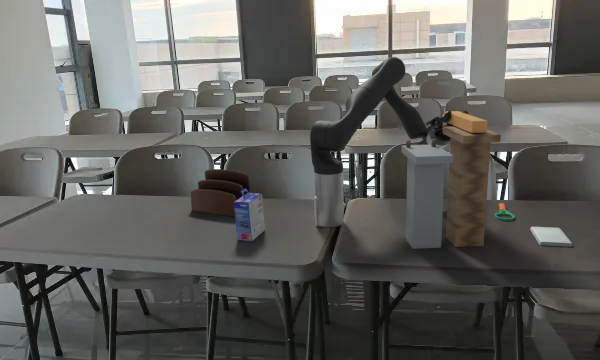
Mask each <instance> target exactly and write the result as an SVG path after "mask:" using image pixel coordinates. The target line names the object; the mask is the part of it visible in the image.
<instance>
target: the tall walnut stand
mask: <svg viewBox="0 0 600 360" xmlns="http://www.w3.org/2000/svg"><path fill="white" fill-rule="evenodd" d="M443 134H445V135H447V136H449V137H451V139H450V143H449V153H450V154H452V155H453V163H448V186H447V205H446V207H447V208H446V209H447V210H446V225H445V226H446V229H445V230H446V231H445V237H446V238H447V239H448V240H449V242H450V243H451V244H452V245H453V246H454V247H456V248H457V247H458V248H460V247H484V244H485V231H486V230H485V229H486V215H487V214H486V213H487V200H488V185H489V174H490V173H489V172H490V171H489V170H490V156H491V144H492V143H501V138H502V135H501V134H500V133H498V132H495V131H493V130H489V129H487V132H483V133H471V132H468V131H466V130H463V129H461V128H459V127H456V126H453V127H444V128H443Z"/></svg>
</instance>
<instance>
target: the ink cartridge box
mask: <svg viewBox="0 0 600 360" xmlns="http://www.w3.org/2000/svg"><path fill="white" fill-rule="evenodd" d="M245 191H246V192H247V194H245V195H244V192H245ZM241 193H242V195H243V196H242V197H241V198H239V199H238V200H236V201H235V202H234V210H235V217H234V218H235V228H236V238H237V241H238V240H239V241H247V242H252V241H255V239H257V238H258V237H259V235H261V234H262V233H263V232H265V231H266V229H265V227H266V226H265V216H264V214H265V213H264V203H263V202H264V200H263V193H256V192H251V193H249V192H248V190H247V189H246V188H245V189H244V190H242V191H241Z"/></svg>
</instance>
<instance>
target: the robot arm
mask: <svg viewBox="0 0 600 360" xmlns="http://www.w3.org/2000/svg"><path fill="white" fill-rule="evenodd" d="M405 75H406V66H405V63H404V61H403V60H402V59H400V57H396V56H390V57H388V58H386V59H384V60H383V61H381V63H379V64H378V65H377V66H376V67H375V68H374V69H373V70H372V72H371V76H370V77H369V78H368V79H367V80H364V82H362V83H361V84H360V85H359V86H358V87H356V88H355V90H353V92H351V94H349V96H348V97H347V98H346V101H345V115H344V116H343V117H342V118H341V119H340V120H326V119H325V120H321V119H319V120H317V121H315V122H314V123H313V124H312V126H311V128H310V132H309V133H310V134H309V141H310V142H309V143H310V155H311V156H310V157H311V163H312V167H313V175H314V176H313V179H314V183H313V184H314V193H313V198H314V199H313V200H314V201H313V203H314V223H315V227H322V228H323V227H324V228H337V227H340V226H342V225H343V224H344V218H345V215H344V214H345V213H344V211H345V210H344V164H343V162H342V161H341V160H339V159H338V158H336V157H335V156H334V155H333V154H332V152H340V151H342V150H343V149H344V148H346V147H347V145H348V144H349V142H350V141H351V139H352V138H353V136H354V135H355V133H356V132H357V130H358V129H359V127H361V125H362V124H363V123H364V122H365V120H366V119H367V118H368V117H369V116H370V115H371V114H372V112H373V111H375V109H376V108H377V107H378V105H379V104H380V103H381V102H382V101H383V99H385V100H386V102H387V103H388V105H390V107H391V109H392V110H393V112H394V113H395V114H396V115H397V117H398V119H399V121H400V123H401V124H402V127H403V129H404V131H405V133H406V135H407V137H408V138H409V140H417V139H422V140H421V141H420V142H418V143H416V145H431V143H432V139H436V145H437V146H438V147H440V148H442V149H443V150H445V148H446V147H447V146H448V145H450V139H451V137H449V136H447V135H445V134H443V128H444V127H453V126H454V125H452V124H449V123H448V122H449V121H450V119H451V118H452V115H451V114H452V113H451V111H452V110H448V112H447V113H446V114H445V113H444V115H441V117H440V116H435V117H433V119H431V120H429V121H428V122H426V123H425V122H424V120H423V118H422V116H421V114H420V113H419V110H417V109H416V108H415V106H413V105H412V104H411V103H409V102H407V101H406V100H404V99H403V98H402V97H400V95H399V94H398V92H397V91H396V89H395V85H396V84H398V83H399V82H401V81H402V80H403V78H404V77H405ZM461 112H462V113H465V114H468V115H469V112H468V111H467V110H462V111H461Z"/></svg>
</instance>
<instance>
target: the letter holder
mask: <svg viewBox="0 0 600 360" xmlns="http://www.w3.org/2000/svg"><path fill="white" fill-rule="evenodd" d="M204 178H205V179H200V180H198V182H197V188H198V189H197V188H196V189H191V191H190V204H191V205H190V206H191V211H192V212H198V213H199V212H200V213H207V214H213V215H219V216H225V217H234V218H235V210H234V202H235V201H236V200H238V199H239V198H241V197H242V196H243V195H242V193H241V191H242V190H244V189H245V188H246V189H247V190H248V192H249V193H252V191H251V183H250V176H249V174H247V173H245V172H241V171H236V170H230V169H218V168H217V169H206V170H205V171H204ZM245 194H247V192H246V191H245V192H244V195H245Z"/></svg>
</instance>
